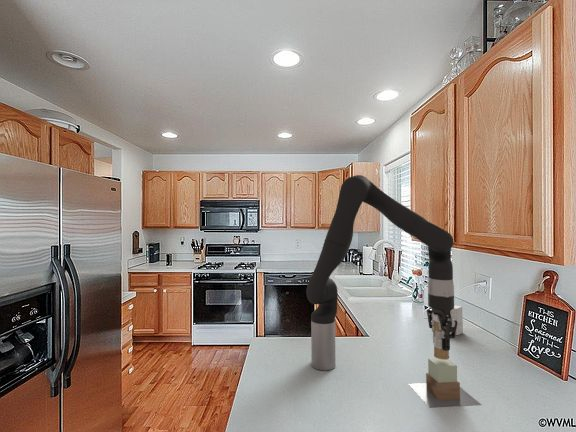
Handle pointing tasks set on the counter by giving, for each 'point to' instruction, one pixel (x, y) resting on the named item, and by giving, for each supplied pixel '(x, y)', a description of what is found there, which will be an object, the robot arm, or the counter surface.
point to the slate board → (433, 402)
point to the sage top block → (442, 370)
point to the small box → (457, 318)
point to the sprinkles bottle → (439, 341)
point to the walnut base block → (443, 389)
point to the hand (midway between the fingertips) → (441, 346)
